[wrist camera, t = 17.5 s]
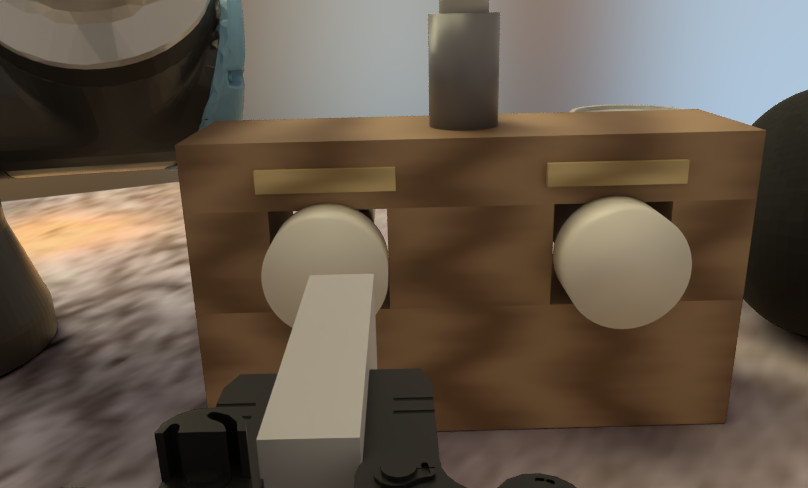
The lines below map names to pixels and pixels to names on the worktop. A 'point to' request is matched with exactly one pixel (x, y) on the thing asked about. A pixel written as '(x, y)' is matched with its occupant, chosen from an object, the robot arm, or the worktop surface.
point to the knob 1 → (322, 254)
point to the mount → (486, 255)
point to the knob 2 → (620, 260)
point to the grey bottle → (463, 66)
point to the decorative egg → (781, 219)
